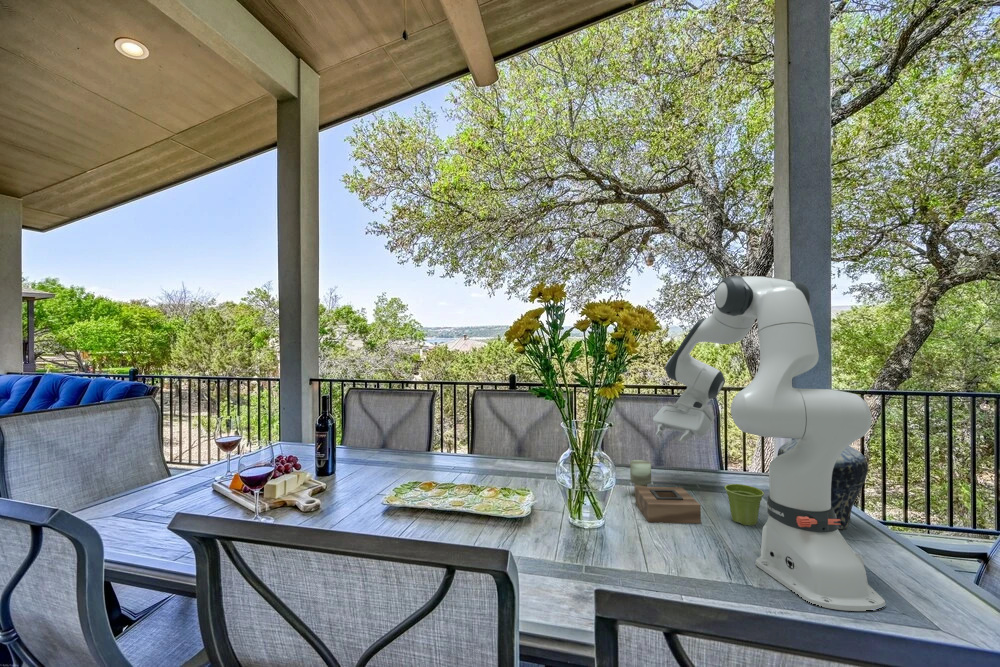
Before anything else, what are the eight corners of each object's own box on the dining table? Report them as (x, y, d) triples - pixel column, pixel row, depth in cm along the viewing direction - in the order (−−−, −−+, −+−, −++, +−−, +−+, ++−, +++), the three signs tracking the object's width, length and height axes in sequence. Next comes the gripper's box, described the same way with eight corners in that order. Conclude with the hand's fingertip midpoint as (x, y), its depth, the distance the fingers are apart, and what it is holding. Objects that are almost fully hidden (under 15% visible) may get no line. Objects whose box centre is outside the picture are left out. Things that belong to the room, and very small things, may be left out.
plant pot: (753, 514, 120) (753, 484, 121) (771, 529, 111) (771, 496, 111) (719, 513, 121) (719, 483, 121) (734, 528, 112) (733, 495, 112)
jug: (891, 540, 104) (887, 418, 105) (811, 540, 105) (808, 418, 105) (827, 507, 125) (825, 406, 126) (761, 507, 125) (759, 406, 126)
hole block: (700, 523, 115) (700, 503, 115) (648, 522, 116) (648, 502, 116) (682, 503, 129) (681, 486, 129) (635, 503, 130) (635, 485, 130)
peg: (654, 499, 133) (653, 465, 133) (633, 498, 134) (632, 465, 134) (648, 491, 140) (647, 460, 140) (628, 491, 140) (628, 459, 140)
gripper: (661, 398, 155) (641, 427, 151) (709, 405, 136) (688, 439, 132) (670, 409, 157) (651, 438, 152) (719, 418, 138) (698, 452, 134)
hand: (668, 439), depth 142 cm, fingers open, 8 cm apart
